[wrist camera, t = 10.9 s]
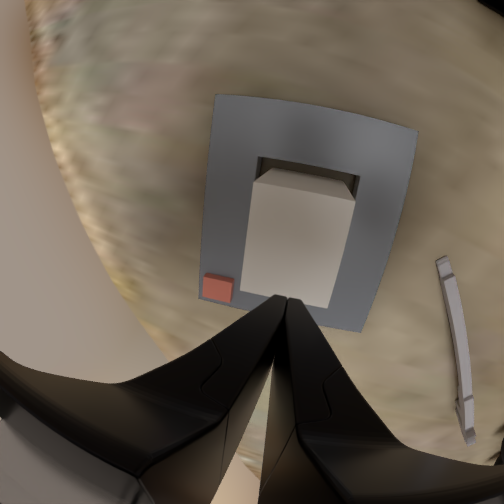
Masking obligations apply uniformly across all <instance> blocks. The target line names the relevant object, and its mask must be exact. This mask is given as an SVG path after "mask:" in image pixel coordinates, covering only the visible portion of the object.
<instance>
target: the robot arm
mask: <svg viewBox="0 0 504 504" xmlns="http://www.w3.org/2000/svg"><path fill="white" fill-rule="evenodd" d="M478 1H479V2H481V3H482V4H484V5H486V6H487V7H489V8H491V9H493V10H494V11H496V12H498V13H499V14H501V15H502V16H504V0H478ZM273 360H274V361H273ZM272 363H273V367H272ZM271 367H272V376H271V387H270V398H269V409H268V419H267V428H266V438H265V447H264V456H263V465H262V473H261V481H260V489H259V498H258V504H504V464H503V465H497V466H486V465H477V464H471V463H466V462H461V461H457V460H452V459H448V458H444V457H440V456H436V455H432V454H429V453H425V452H422V451H418V450H415V449H412V448H410V447H408V446H406V445H404V444H403V443H401V442H400V441H399V440H398V439H397V438H396V437H395V436H394V435H393V434H392V433H391V431H390V430H389V429H388V428H387V426H386V425H385V424H384V423H383V421H382V420H381V419H380V418H379V416H378V415H377V414H376V413H375V411H374V410H373V409H372V408H371V406H370V405H369V404H368V403H367V401H366V400H365V399H364V397H363V396H362V395H361V393H360V392H359V391H358V389H357V388H356V386H355V385H354V383H353V382H352V380H351V379H350V377H349V376H348V374H347V372H346V371H345V369H344V368H343V367H342V364H341V363H340V361H339V360H338V358H337V356H336V355H335V353H334V351H333V350H332V348H331V347H330V345H329V343H328V342H327V340H326V338H325V337H324V335H323V334H322V332H321V330H320V329H319V327H318V325H317V324H316V322H315V321H314V319H313V317H312V316H311V314H310V313H309V311H308V309H307V308H306V306H305V305H304V303H303V301H302V300H301V299H296V298H292V297H289V298H288V299H287V297H286V296H282V295H277V294H274V295H272V296H271V297H270V298H268V299H267V300H265V301H264V302H263V303H261V304H260V305H258V306H257V307H256V308H254V309H253V310H251V311H250V312H248V313H247V314H246V315H244V316H243V317H241V318H240V319H238V320H237V321H236V322H234V323H233V324H231V325H230V326H228V327H227V328H225V329H224V330H222V331H221V332H220V333H218V334H217V335H215V336H214V337H212V338H211V339H209V340H207V341H206V342H204V343H203V344H201V345H200V346H198V347H197V348H195V349H193V350H192V351H190V352H188V353H187V354H185V355H183V356H181V357H179V358H177V359H175V360H173V361H171V362H169V363H167V364H165V365H163V366H161V367H158V368H156V369H154V370H152V371H149V372H147V373H145V374H143V375H141V376H138V377H136V378H134V379H131V380H128V381H125V382H122V383H115V384H114V383H113V384H108V383H100V382H93V381H87V380H80V379H75V378H69V377H64V376H59V375H54V374H49V373H45V372H41V371H37V370H34V369H31V368H28V367H25V366H22V365H20V364H18V363H16V362H15V361H13V360H12V359H10V358H9V357H8V356H6V355H5V354H4V353H3V352H1V351H0V417H1V418H2V419H1V420H0V504H210V503H211V501H212V499H213V497H214V495H215V493H216V491H217V489H218V487H219V485H220V483H221V481H222V479H223V477H224V475H225V473H226V471H227V469H228V467H229V464H230V462H231V460H232V458H233V456H234V454H235V452H236V449H237V447H238V445H239V443H240V441H241V438H242V436H243V434H244V432H245V429H246V427H247V425H248V423H249V420H250V418H251V416H252V413H253V411H254V409H255V406H256V404H257V401H258V399H259V397H260V394H261V392H262V389H263V387H264V385H265V382H266V380H267V377H268V375H269V372H270V369H271Z"/></svg>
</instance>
